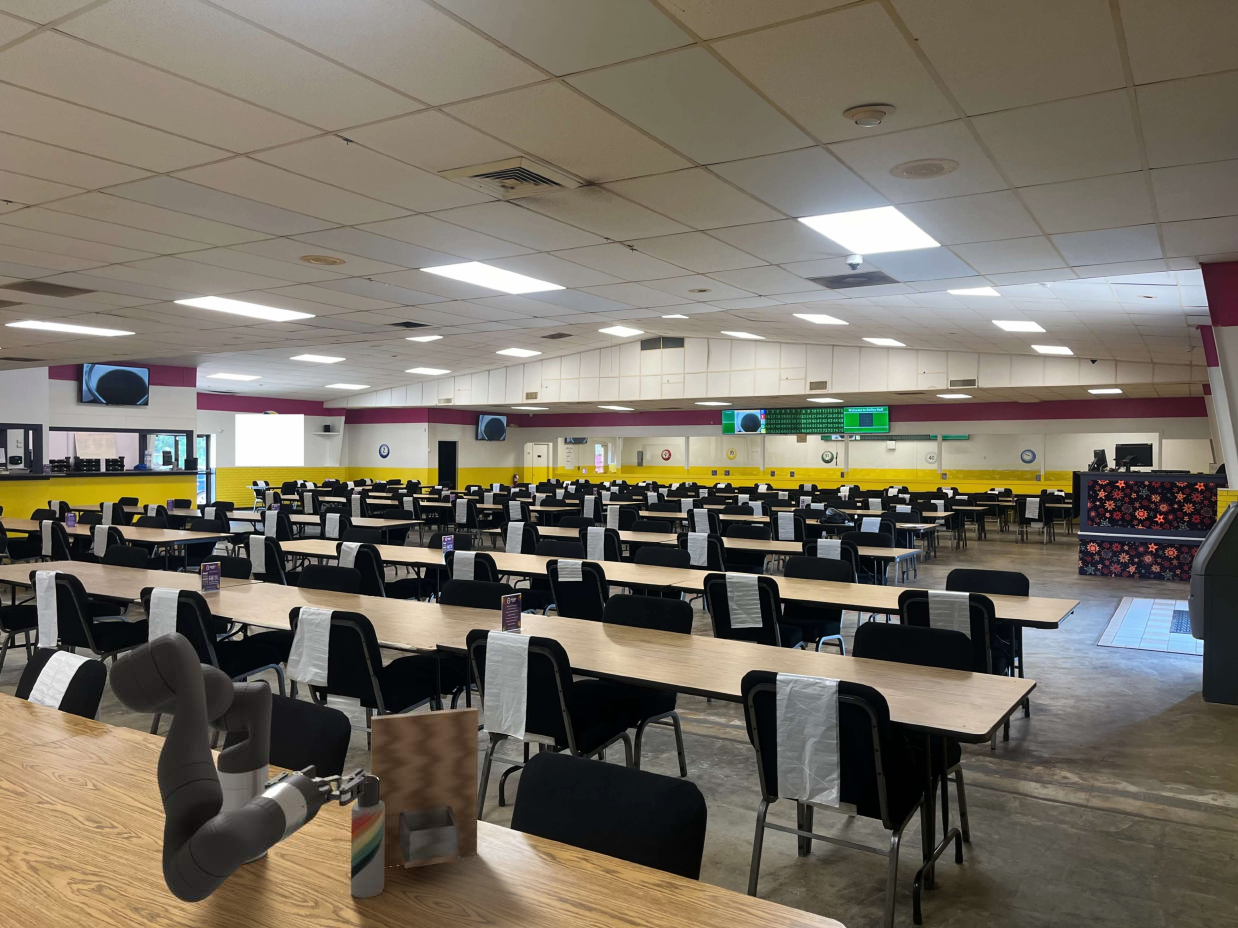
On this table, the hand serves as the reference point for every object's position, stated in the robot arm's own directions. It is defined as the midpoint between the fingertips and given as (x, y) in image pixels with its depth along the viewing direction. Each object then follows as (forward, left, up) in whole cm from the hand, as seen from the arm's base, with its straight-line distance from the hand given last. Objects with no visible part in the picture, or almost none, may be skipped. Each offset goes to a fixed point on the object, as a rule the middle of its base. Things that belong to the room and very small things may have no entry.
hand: (337, 772), depth 138 cm
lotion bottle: (+6, +10, -25) cm, 27 cm away
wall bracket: (+17, +14, -25) cm, 33 cm away
